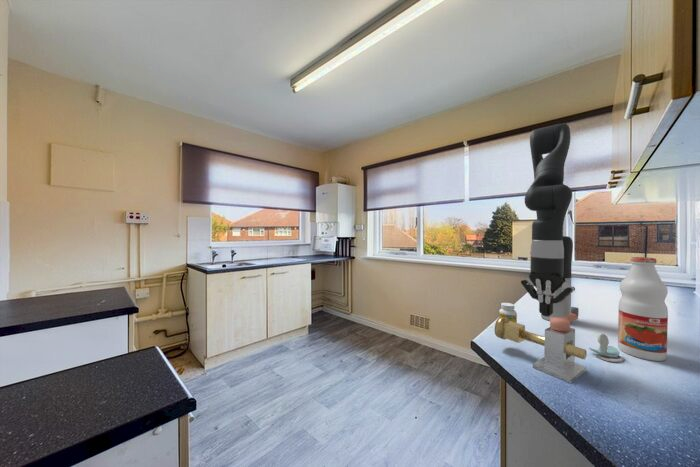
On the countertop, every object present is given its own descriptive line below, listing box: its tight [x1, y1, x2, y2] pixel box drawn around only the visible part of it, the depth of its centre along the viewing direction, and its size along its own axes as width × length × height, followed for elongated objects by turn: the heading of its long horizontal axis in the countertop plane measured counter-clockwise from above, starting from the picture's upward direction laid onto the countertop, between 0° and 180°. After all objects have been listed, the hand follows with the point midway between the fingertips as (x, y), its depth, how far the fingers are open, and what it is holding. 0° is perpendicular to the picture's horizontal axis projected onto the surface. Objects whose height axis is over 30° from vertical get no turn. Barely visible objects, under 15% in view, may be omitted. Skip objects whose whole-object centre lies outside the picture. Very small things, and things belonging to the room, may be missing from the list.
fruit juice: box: [617, 256, 669, 362], centre depth 74 cm, size 9×9×28 cm
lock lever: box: [549, 306, 580, 332], centre depth 68 cm, size 12×4×4 cm, turn 121°
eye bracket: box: [532, 326, 588, 384], centre depth 66 cm, size 10×8×10 cm
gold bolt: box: [494, 316, 588, 360], centre depth 71 cm, size 6×20×6 cm, turn 31°
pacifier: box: [588, 333, 625, 363], centre depth 72 cm, size 7×6×6 cm
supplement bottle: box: [498, 302, 518, 323], centre depth 91 cm, size 5×5×10 cm
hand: (545, 315), depth 73 cm, fingers closed
